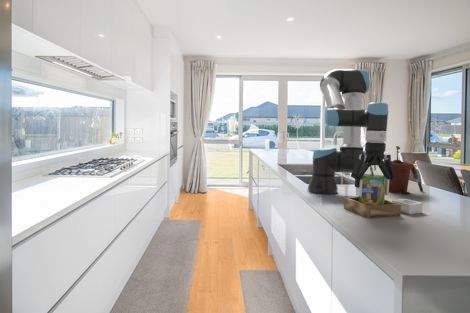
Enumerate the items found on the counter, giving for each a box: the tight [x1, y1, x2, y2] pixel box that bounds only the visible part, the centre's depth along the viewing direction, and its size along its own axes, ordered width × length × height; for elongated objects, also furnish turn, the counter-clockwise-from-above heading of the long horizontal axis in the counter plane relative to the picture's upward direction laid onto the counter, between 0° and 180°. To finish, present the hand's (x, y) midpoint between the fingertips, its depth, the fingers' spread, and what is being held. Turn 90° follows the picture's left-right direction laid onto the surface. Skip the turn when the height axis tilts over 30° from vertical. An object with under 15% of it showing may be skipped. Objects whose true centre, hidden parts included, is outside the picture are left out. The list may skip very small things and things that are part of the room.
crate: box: [343, 196, 401, 219], centre depth 129 cm, size 15×15×4 cm
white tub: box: [391, 198, 423, 215], centre depth 132 cm, size 8×8×4 cm
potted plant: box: [383, 145, 424, 196], centre depth 174 cm, size 18×22×25 cm
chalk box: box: [358, 166, 386, 205], centre depth 129 cm, size 9×9×15 cm
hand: (371, 195), depth 129 cm, fingers closed on chalk box, 12 cm apart
